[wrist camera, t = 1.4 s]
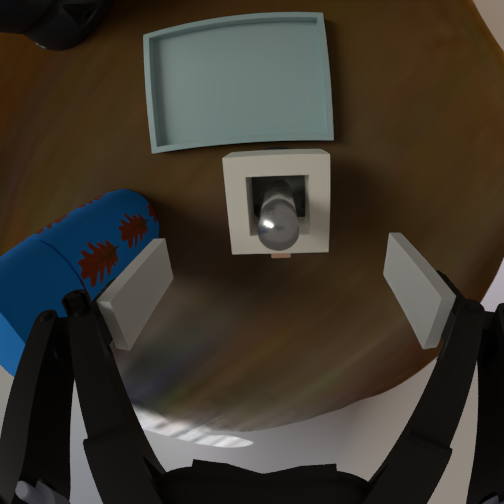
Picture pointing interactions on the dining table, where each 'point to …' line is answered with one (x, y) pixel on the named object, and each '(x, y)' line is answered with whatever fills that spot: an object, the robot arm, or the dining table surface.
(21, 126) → the dining table surface
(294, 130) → the tray
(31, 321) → the thermos
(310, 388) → the dining table surface
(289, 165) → the ring
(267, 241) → the stake
